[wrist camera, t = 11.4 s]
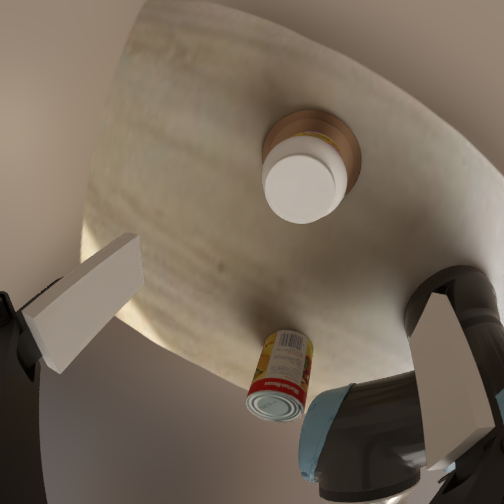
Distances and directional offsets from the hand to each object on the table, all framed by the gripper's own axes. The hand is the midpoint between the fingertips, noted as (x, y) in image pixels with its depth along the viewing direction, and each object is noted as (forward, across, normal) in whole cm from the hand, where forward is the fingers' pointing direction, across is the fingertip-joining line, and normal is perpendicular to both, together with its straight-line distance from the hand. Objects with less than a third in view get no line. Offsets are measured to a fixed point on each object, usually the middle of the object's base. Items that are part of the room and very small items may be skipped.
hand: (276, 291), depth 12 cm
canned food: (+24, +1, -27) cm, 36 cm away
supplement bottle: (+22, 0, +2) cm, 22 cm away
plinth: (+23, 0, +2) cm, 23 cm away
